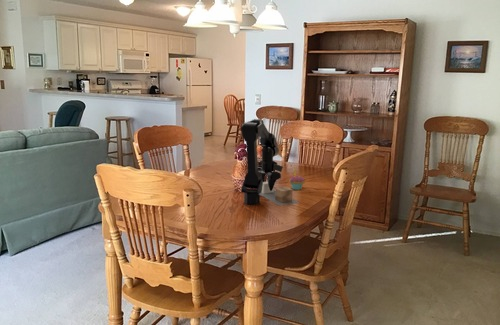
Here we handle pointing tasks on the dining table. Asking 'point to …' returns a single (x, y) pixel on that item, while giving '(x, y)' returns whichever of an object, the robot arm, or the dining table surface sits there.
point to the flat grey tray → (272, 194)
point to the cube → (283, 194)
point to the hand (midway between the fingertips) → (266, 188)
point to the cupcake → (296, 181)
